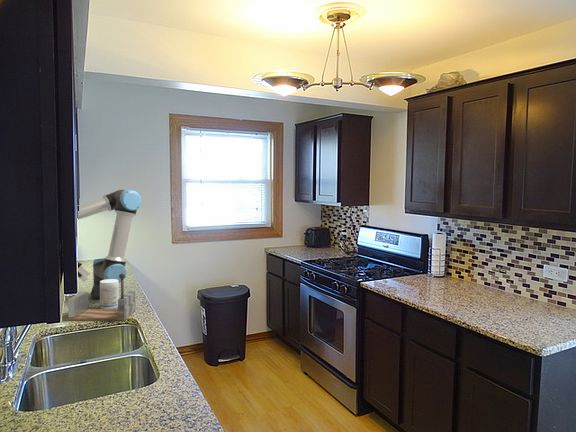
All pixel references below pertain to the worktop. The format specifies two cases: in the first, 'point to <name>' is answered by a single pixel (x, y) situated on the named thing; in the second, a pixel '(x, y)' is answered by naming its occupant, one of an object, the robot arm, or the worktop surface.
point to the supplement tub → (109, 293)
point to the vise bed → (121, 314)
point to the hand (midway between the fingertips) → (87, 277)
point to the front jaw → (77, 304)
